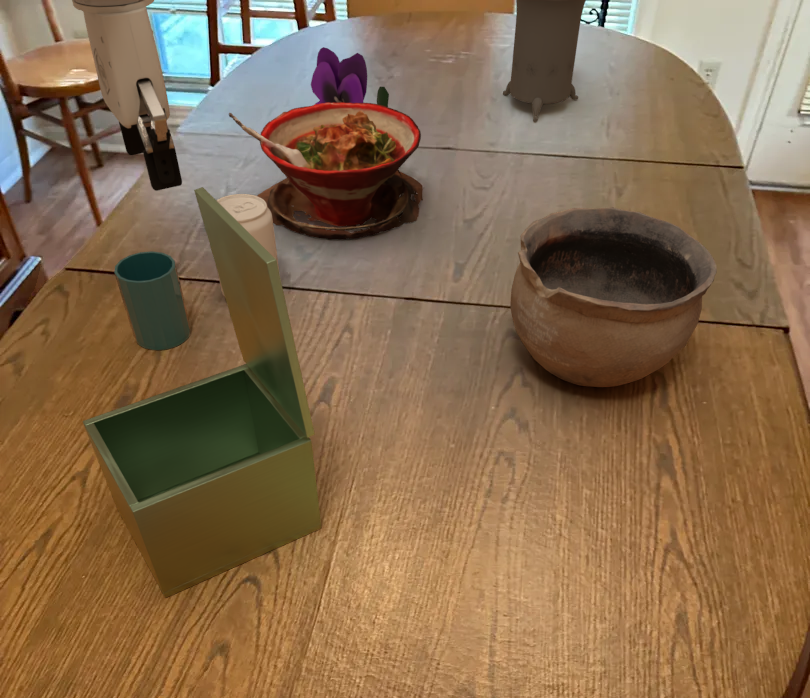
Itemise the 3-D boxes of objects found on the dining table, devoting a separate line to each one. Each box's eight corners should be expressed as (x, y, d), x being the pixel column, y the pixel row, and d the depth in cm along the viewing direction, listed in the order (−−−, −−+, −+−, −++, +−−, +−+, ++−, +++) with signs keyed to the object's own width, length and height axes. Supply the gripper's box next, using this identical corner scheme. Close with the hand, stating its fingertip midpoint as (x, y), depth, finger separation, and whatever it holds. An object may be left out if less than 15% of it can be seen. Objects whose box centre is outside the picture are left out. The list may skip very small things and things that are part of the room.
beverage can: (210, 290, 108) (193, 205, 99) (259, 270, 112) (247, 186, 103) (243, 315, 104) (229, 229, 95) (293, 293, 108) (283, 208, 99)
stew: (238, 252, 115) (219, 138, 103) (253, 179, 131) (238, 72, 119) (429, 249, 116) (432, 136, 104) (421, 177, 131) (423, 70, 119)
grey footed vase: (574, 125, 146) (599, -38, 127) (495, 119, 148) (508, -42, 129) (579, 88, 158) (602, -66, 139) (505, 83, 160) (519, -70, 141)
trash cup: (146, 356, 98) (126, 288, 91) (127, 329, 102) (106, 261, 95) (199, 339, 101) (183, 271, 94) (178, 312, 105) (162, 245, 98)
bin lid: (266, 263, 56) (276, 259, 57) (193, 189, 64) (202, 186, 64) (307, 438, 70) (315, 434, 70) (243, 360, 77) (250, 357, 78)
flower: (344, 146, 151) (290, 128, 141) (369, 61, 145) (315, 36, 135) (394, 171, 144) (342, 154, 134) (423, 83, 137) (371, 58, 127)
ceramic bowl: (474, 331, 102) (483, 220, 91) (619, 299, 107) (645, 189, 96) (556, 437, 88) (578, 322, 77) (717, 394, 94) (761, 280, 82)
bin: (165, 598, 73) (132, 512, 64) (117, 509, 81) (82, 420, 72) (321, 528, 79) (311, 440, 70) (263, 451, 87) (247, 362, 78)
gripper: (49, -34, 77) (100, 146, 90) (92, 15, 67) (142, 210, 80) (125, -44, 79) (164, 133, 92) (177, 2, 69) (213, 193, 82)
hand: (154, 169), depth 86 cm, fingers open, 9 cm apart
